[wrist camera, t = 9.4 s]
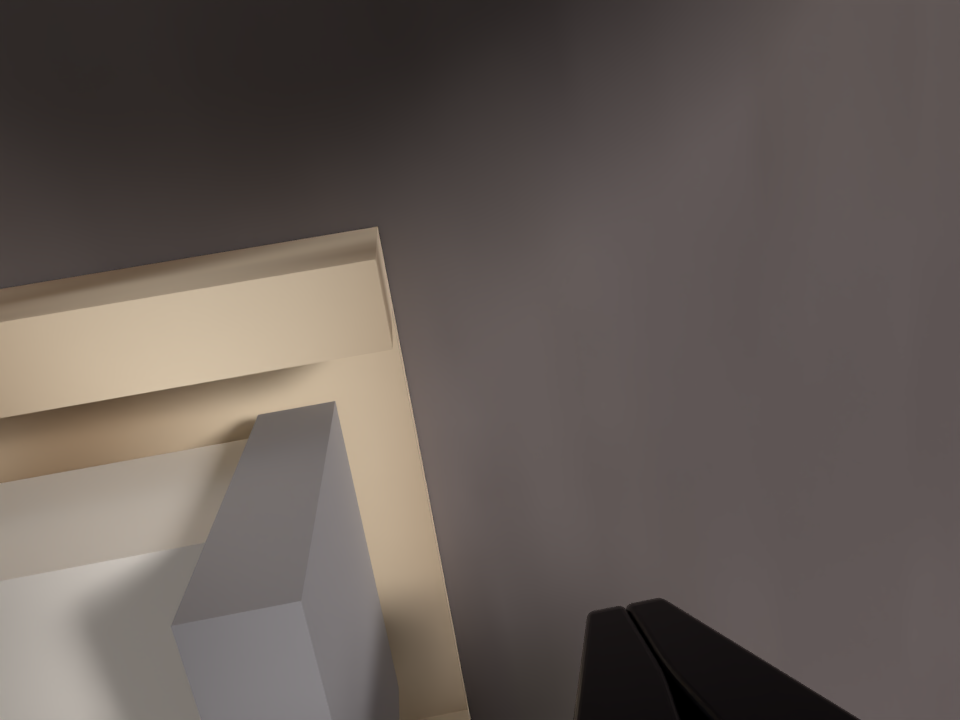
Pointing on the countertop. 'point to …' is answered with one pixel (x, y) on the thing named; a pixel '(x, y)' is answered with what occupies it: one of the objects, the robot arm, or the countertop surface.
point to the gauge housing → (241, 399)
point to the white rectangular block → (196, 585)
